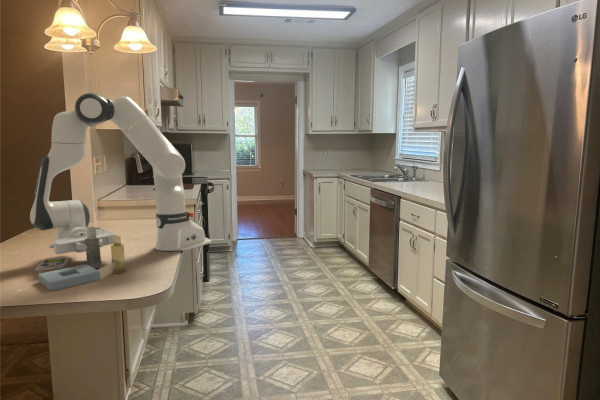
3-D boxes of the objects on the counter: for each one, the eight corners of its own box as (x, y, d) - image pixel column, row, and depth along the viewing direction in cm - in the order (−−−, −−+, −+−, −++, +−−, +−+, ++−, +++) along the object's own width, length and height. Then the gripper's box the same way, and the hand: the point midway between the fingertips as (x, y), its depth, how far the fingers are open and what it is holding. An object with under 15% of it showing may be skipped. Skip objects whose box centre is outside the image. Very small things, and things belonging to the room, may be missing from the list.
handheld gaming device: (33, 269, 142) (43, 258, 156) (33, 272, 142) (44, 260, 156) (63, 267, 145) (70, 255, 159) (63, 269, 145) (70, 257, 159)
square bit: (97, 265, 147) (94, 225, 145) (101, 267, 144) (97, 226, 142) (87, 267, 144) (83, 227, 142) (91, 269, 142) (87, 228, 140)
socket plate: (86, 271, 141) (86, 264, 141) (100, 279, 133) (99, 271, 132) (39, 281, 131) (38, 273, 131) (50, 290, 123) (49, 282, 122)
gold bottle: (122, 269, 142) (120, 234, 141) (127, 272, 140) (124, 236, 138) (110, 272, 140) (108, 236, 138) (115, 274, 137) (112, 238, 135)
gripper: (46, 236, 145) (58, 242, 135) (107, 226, 159) (122, 231, 149) (48, 254, 146) (60, 261, 136) (108, 243, 160) (123, 249, 150)
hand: (93, 246), depth 143 cm, fingers closed on square bit, 3 cm apart
